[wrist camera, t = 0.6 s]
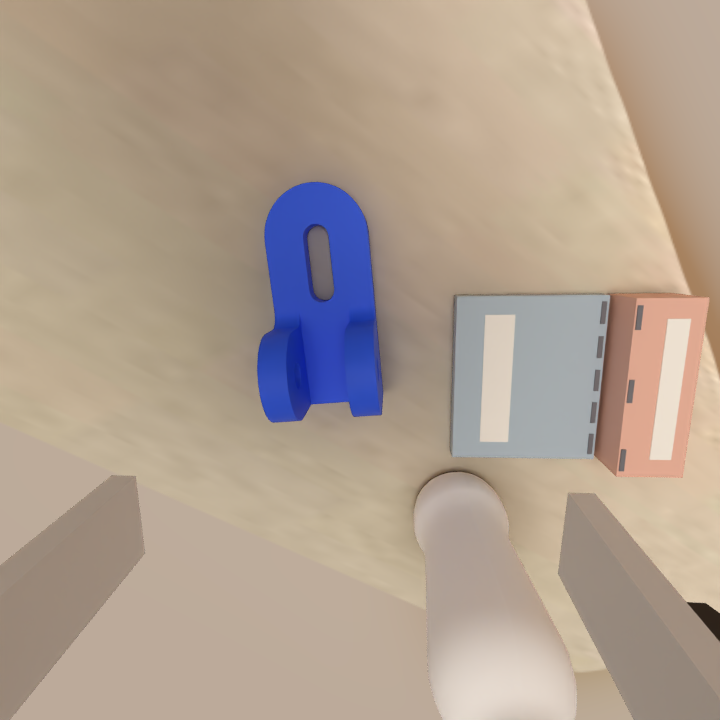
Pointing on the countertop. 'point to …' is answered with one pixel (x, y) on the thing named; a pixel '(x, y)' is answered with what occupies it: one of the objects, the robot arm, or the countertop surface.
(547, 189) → the countertop surface
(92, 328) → the countertop surface
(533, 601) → the bottle
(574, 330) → the ticket
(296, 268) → the bracket
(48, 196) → the countertop surface
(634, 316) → the stub
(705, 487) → the countertop surface
